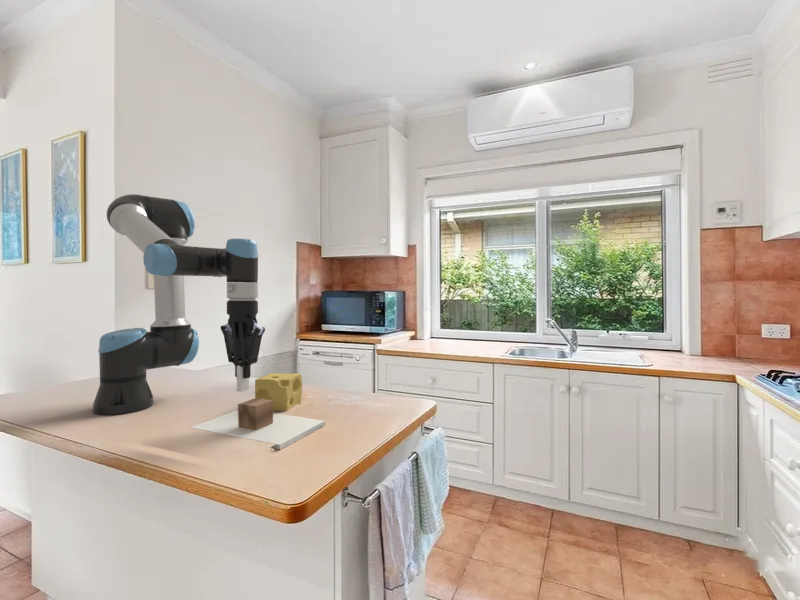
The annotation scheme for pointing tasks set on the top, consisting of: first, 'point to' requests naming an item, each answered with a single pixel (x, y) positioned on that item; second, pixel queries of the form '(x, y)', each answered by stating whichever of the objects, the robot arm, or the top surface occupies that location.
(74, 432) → the top surface
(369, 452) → the top surface
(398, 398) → the top surface
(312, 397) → the top surface
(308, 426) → the cutting board
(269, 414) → the walnut block
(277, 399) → the cheese
